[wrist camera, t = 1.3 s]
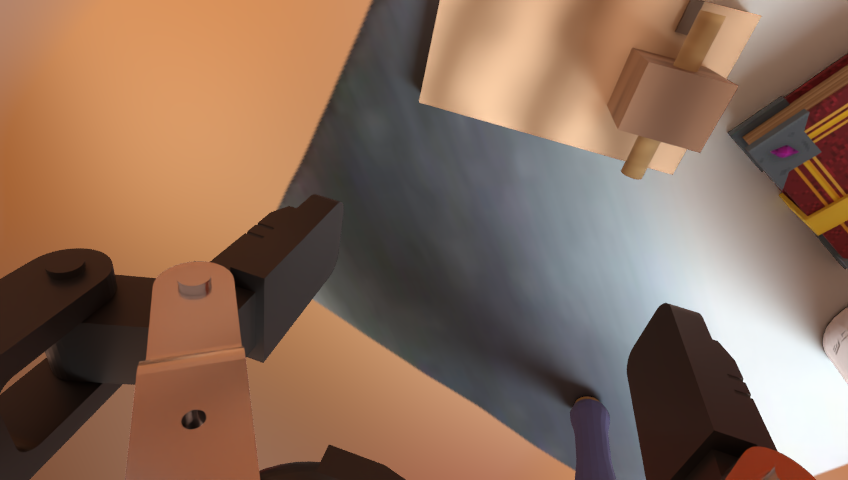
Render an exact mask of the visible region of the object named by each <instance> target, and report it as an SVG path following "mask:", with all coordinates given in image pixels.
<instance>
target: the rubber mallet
mask: <svg viewBox="0 0 848 480" xmlns="http://www.w3.org/2000/svg"><path fill="white" fill-rule="evenodd" d="M570 418H571V423H572V426H573V429H574V433H575V442H576V458H577V459H576V473H575V480H616V477H615V473H614V470H613V466H612V461H611V454H610V446H609V438H608V431H609V425H610V416H609V413H608V411H607V409H606V408H605V407H604V405H603V404H602V403H600V401H599V400H597V399H596V398H593V397H588V396H587V397H581V398H579V399H577V400H576V402H575V404H574V406H573V408H572V409H571V411H570Z"/></svg>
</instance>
